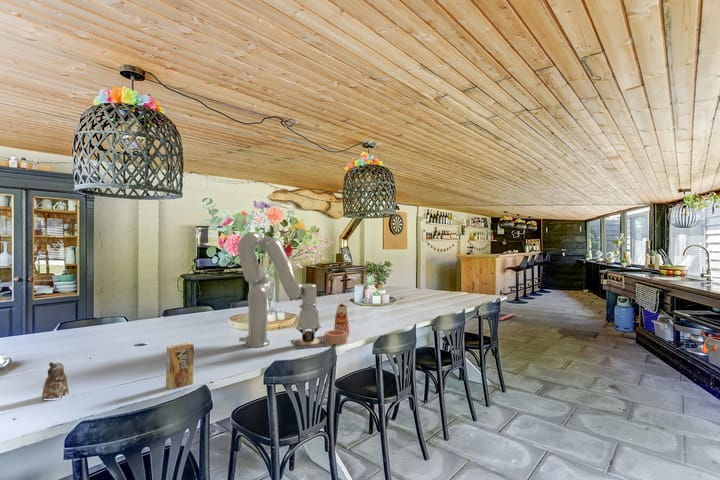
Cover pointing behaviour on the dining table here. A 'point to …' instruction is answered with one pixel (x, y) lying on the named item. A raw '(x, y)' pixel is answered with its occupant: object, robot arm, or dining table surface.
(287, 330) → the dining table surface
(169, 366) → the candy box
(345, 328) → the milk carton
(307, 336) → the lid
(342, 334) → the bowl
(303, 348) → the mat
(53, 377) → the figurine
